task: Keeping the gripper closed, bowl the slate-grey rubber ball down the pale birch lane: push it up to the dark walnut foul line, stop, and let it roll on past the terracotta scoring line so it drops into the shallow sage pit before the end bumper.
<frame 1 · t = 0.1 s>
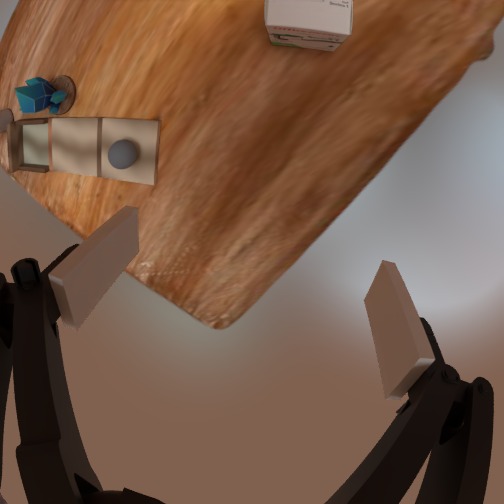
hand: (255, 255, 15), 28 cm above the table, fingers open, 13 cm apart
ball: (122, 154, 38), point 3 cm above the table, touching lane
gemstone: (61, 94, 37), on the table
beverage can: (9, 119, 39), on the table
lane: (76, 144, 41), on the table
ink box: (304, 32, 30), on the table
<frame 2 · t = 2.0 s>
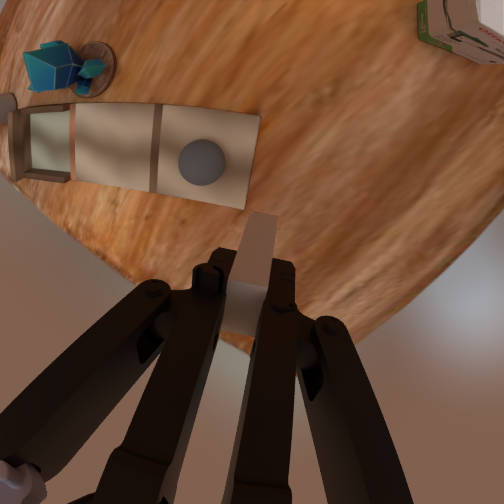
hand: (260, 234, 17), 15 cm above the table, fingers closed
ball: (201, 162, 27), point 3 cm above the table, touching lane
gemstone: (92, 69, 25), on the table
beverage can: (10, 107, 28), on the table
lane: (114, 143, 30), on the table
ink box: (450, 33, 18), on the table
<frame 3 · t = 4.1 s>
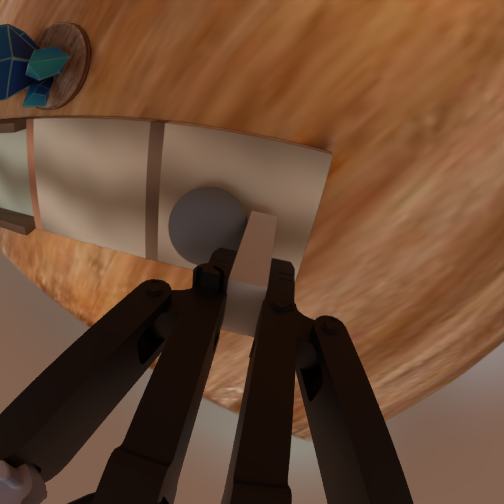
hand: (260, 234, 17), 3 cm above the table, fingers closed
ball: (208, 226, 16), point 3 cm above the table, tilted 32°, touching gripper, lane
gemstone: (56, 66, 15), on the table
lane: (89, 180, 19), on the table
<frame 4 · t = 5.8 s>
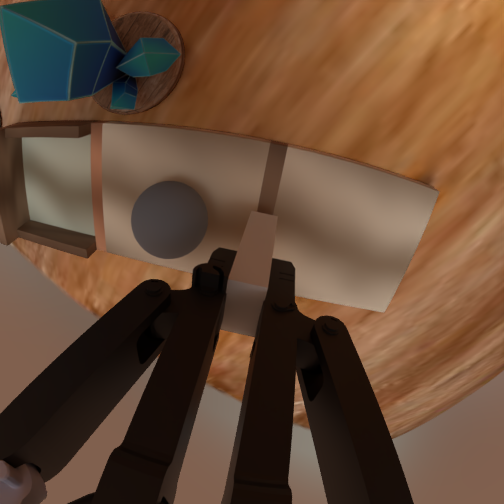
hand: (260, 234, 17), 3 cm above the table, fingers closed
ball: (169, 219, 16), point 3 cm above the table, tilted 104°, touching lane
gemstone: (132, 63, 15), on the table
lane: (176, 199, 19), on the table
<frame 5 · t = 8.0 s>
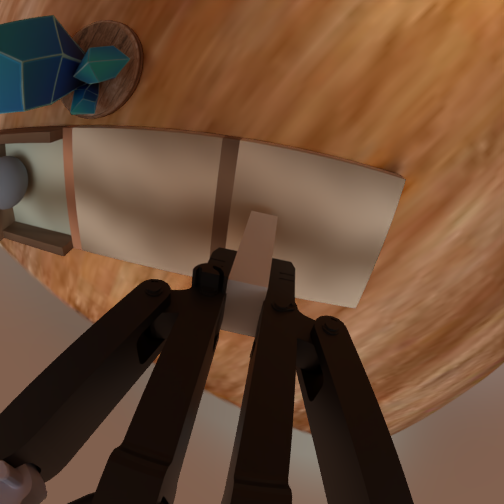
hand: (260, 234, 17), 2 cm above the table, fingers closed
ball: (5, 182, 17), point 3 cm above the table, tilted 116°, touching lane
gemstone: (98, 69, 15), on the table
lane: (142, 197, 19), on the table
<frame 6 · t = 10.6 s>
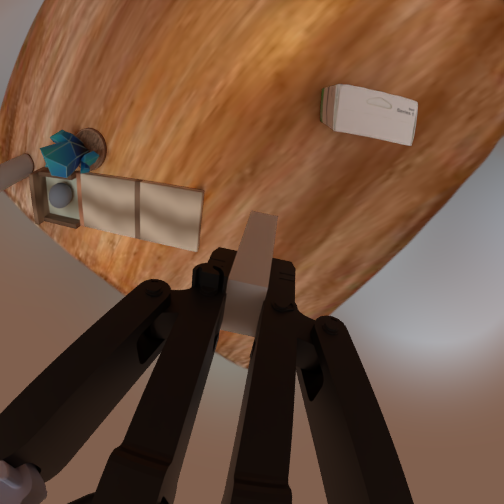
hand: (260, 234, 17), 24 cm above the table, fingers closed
ball: (60, 195, 42), point 3 cm above the table, tilted 162°, touching lane
gemstone: (89, 148, 41), on the table
beverage can: (28, 164, 43), on the table
lane: (109, 203, 45), on the table
ink box: (352, 108, 33), on the table
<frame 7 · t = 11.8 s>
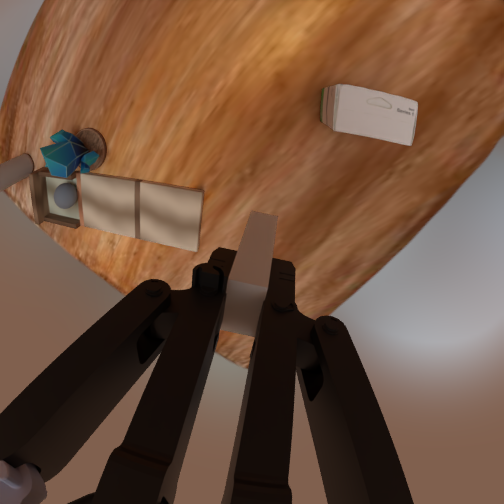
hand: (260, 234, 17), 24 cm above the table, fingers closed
ball: (65, 195, 42), point 3 cm above the table, tilted 127°, touching lane
gemstone: (89, 148, 41), on the table
beverage can: (28, 164, 43), on the table
lane: (109, 203, 45), on the table
ink box: (352, 108, 33), on the table
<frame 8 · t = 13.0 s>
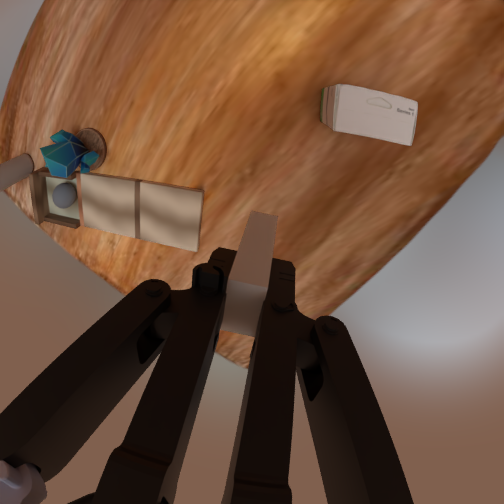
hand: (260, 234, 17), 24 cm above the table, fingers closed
ball: (64, 195, 42), point 3 cm above the table, tilted 136°, touching lane
gemstone: (89, 148, 41), on the table
beverage can: (28, 164, 43), on the table
lane: (109, 203, 45), on the table
ink box: (352, 108, 33), on the table
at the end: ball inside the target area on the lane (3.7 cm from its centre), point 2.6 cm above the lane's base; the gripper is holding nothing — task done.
